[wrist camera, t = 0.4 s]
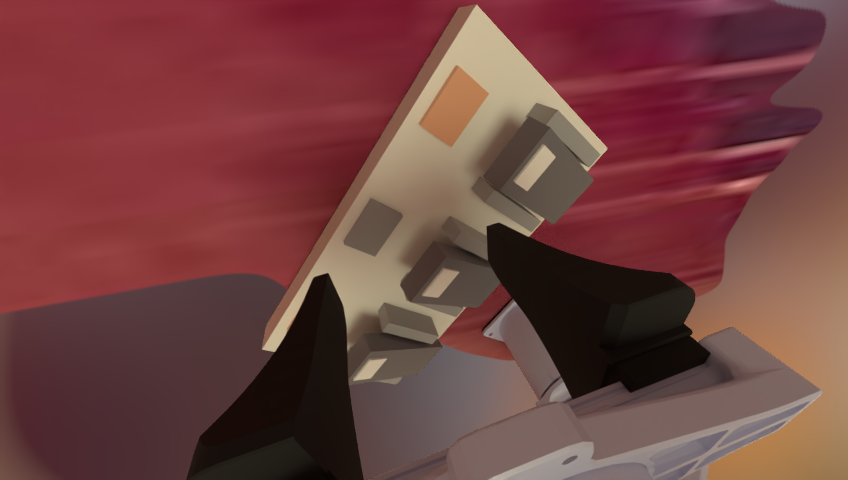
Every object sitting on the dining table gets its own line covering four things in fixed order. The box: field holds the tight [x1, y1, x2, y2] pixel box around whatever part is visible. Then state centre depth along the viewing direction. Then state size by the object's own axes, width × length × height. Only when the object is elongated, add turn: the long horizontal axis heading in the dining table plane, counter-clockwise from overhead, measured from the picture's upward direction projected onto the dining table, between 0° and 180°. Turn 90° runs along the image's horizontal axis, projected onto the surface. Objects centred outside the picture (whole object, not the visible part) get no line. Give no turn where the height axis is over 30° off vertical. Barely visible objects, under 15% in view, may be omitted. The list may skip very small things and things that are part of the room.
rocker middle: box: [400, 241, 501, 308], centre depth 23 cm, size 8×4×2 cm, turn 54°
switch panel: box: [262, 5, 608, 384], centre depth 24 cm, size 14×27×5 cm, turn 144°
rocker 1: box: [347, 333, 442, 385], centre depth 26 cm, size 8×4×2 cm, turn 54°
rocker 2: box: [483, 116, 594, 224], centre depth 20 cm, size 8×4×2 cm, turn 54°
